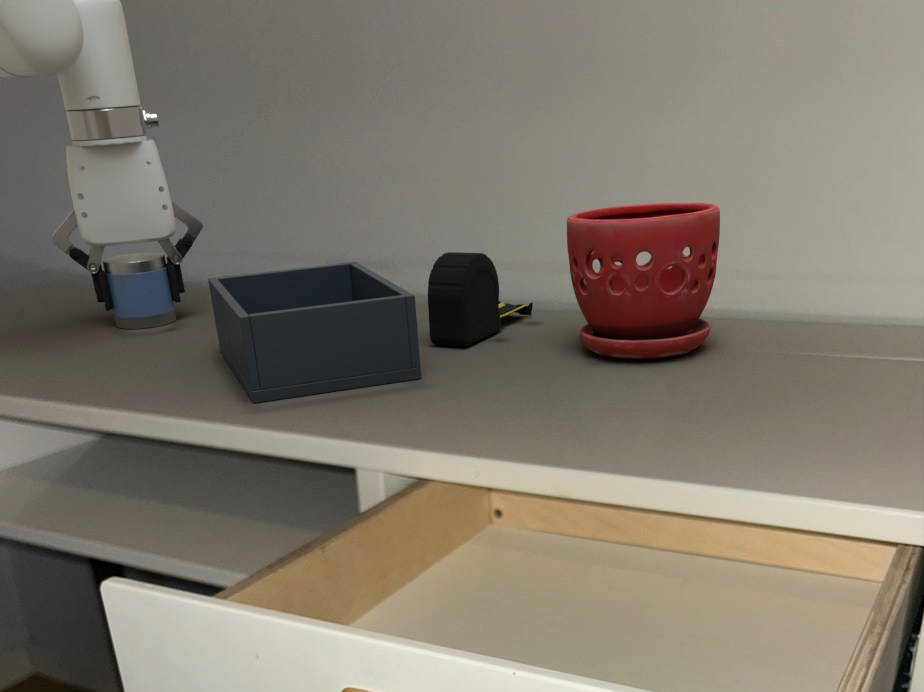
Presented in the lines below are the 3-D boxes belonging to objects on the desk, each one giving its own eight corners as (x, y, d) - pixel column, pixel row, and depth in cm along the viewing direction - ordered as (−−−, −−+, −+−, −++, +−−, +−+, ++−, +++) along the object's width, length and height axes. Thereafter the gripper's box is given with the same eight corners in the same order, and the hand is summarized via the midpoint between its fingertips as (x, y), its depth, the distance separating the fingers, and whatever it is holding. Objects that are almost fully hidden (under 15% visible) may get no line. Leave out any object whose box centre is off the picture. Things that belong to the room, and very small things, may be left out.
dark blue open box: (253, 403, 88) (239, 317, 85) (220, 351, 106) (207, 278, 102) (421, 378, 92) (414, 295, 89) (363, 332, 109) (355, 261, 106)
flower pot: (730, 335, 100) (738, 197, 94) (690, 371, 89) (695, 218, 84) (599, 329, 105) (598, 198, 99) (546, 362, 95) (542, 218, 89)
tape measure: (466, 349, 101) (460, 260, 97) (426, 346, 102) (419, 259, 99) (533, 316, 112) (530, 235, 108) (496, 314, 114) (492, 235, 110)
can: (117, 331, 117) (103, 265, 113) (114, 320, 122) (100, 256, 119) (179, 324, 119) (167, 258, 115) (174, 313, 124) (162, 250, 121)
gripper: (188, 121, 116) (216, 290, 125) (20, 133, 112) (61, 308, 120) (196, 123, 110) (225, 300, 119) (18, 136, 106) (62, 320, 114)
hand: (142, 303), depth 119 cm, fingers closed on can, 6 cm apart
